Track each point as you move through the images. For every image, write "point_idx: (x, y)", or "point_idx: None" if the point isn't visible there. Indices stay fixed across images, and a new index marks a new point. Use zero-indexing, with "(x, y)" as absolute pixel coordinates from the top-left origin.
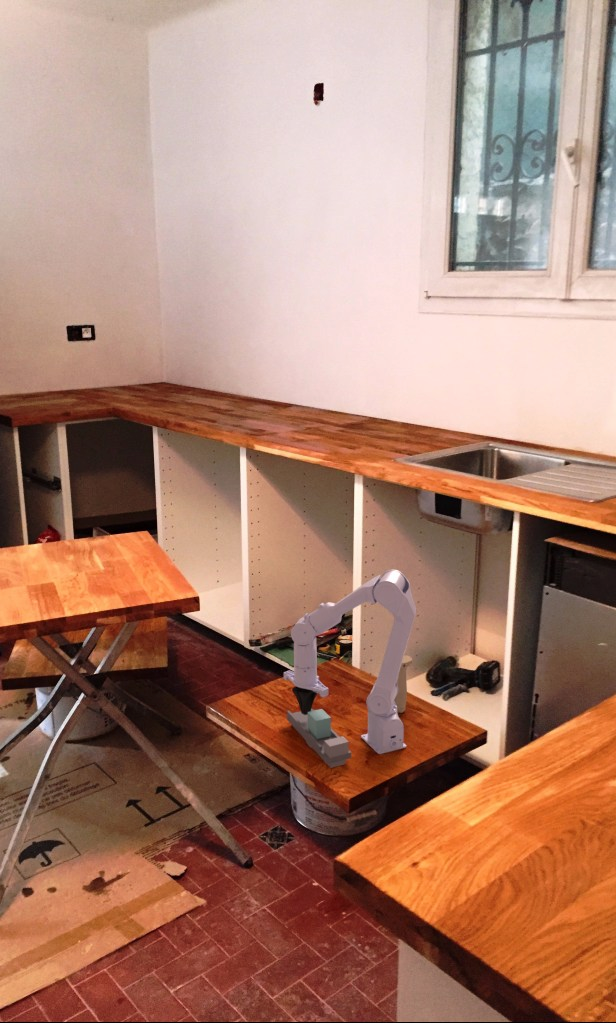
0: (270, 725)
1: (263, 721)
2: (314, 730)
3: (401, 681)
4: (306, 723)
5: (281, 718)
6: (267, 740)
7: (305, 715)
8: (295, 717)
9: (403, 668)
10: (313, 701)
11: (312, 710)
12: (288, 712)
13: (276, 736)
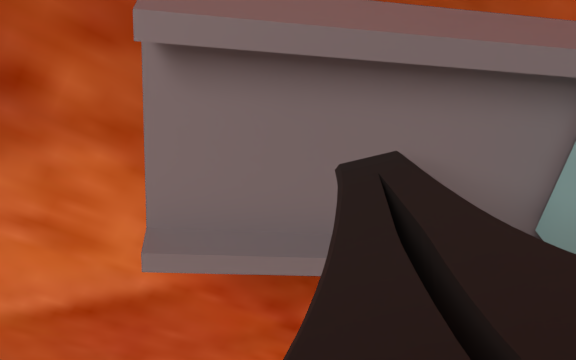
0: (113, 279)
1: (31, 296)
2: None
3: None
4: None
5: (28, 176)
6: None
7: (263, 110)
8: (313, 258)
9: None
10: (496, 218)
11: (278, 39)
12: (183, 272)
13: (280, 297)
